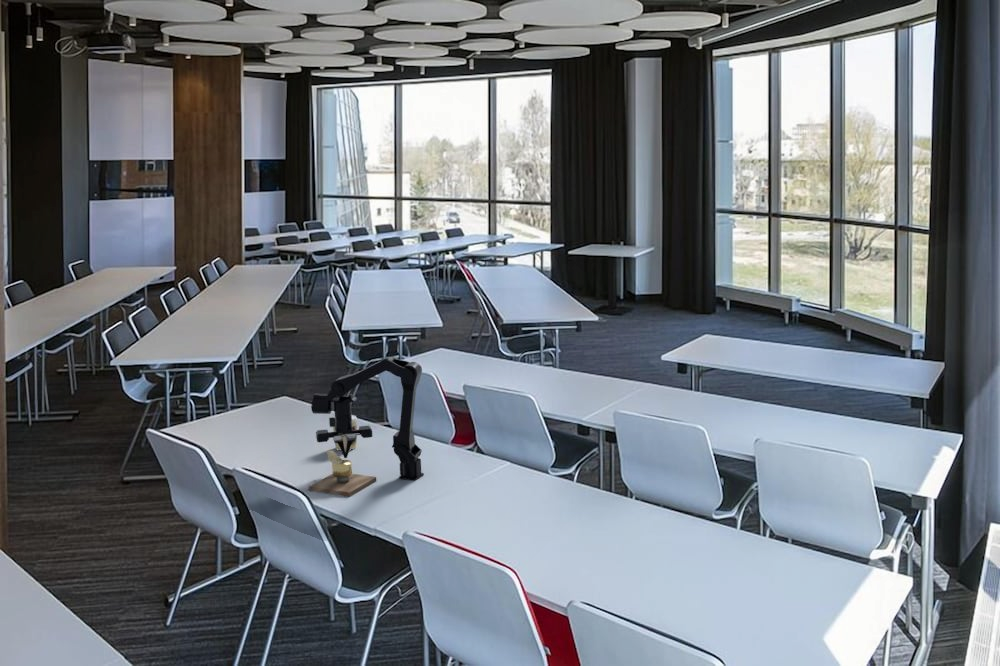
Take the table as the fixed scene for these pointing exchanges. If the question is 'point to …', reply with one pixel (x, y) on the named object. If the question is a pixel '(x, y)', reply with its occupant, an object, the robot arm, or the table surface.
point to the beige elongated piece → (339, 465)
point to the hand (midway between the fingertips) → (345, 457)
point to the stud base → (342, 484)
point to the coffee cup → (354, 427)
